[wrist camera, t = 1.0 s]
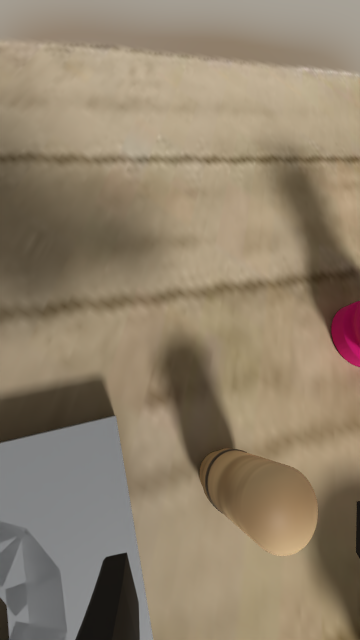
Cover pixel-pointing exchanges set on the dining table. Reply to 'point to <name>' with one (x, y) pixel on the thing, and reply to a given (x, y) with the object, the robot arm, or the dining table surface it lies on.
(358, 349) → the pepper mill
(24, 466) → the grey peg hole board
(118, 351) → the dining table surface
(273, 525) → the oak peg
